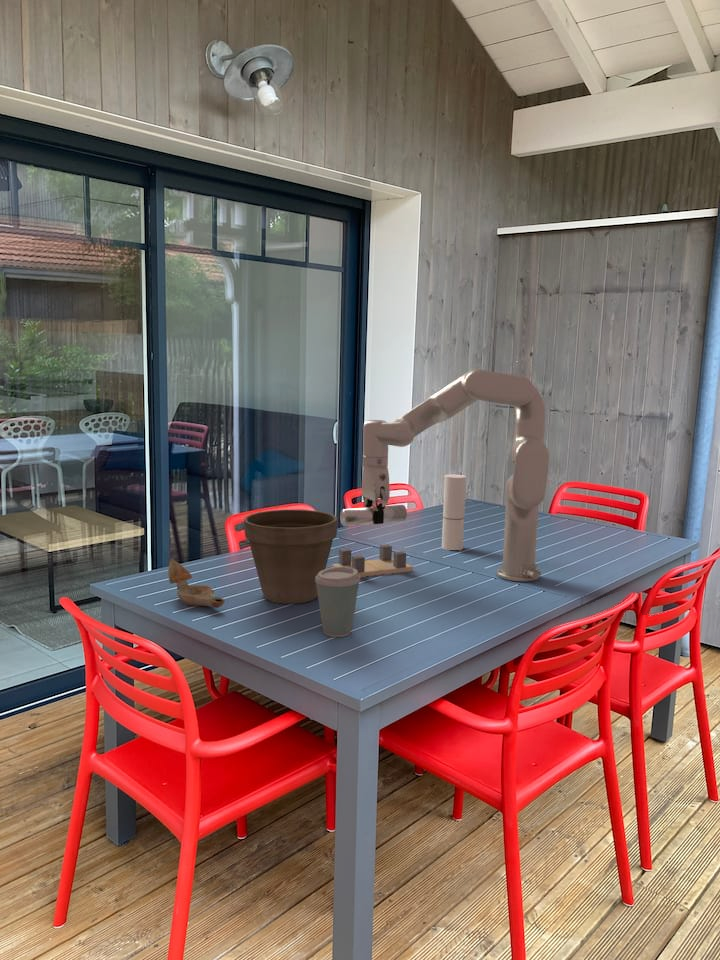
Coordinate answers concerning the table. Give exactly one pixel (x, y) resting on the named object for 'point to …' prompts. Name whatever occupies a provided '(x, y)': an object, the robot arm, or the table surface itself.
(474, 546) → the table surface
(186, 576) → the oil lamp
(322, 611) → the disposable coffee cup
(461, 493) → the cylindrical container
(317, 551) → the plant pot
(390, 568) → the plate
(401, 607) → the table surface
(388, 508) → the tube
